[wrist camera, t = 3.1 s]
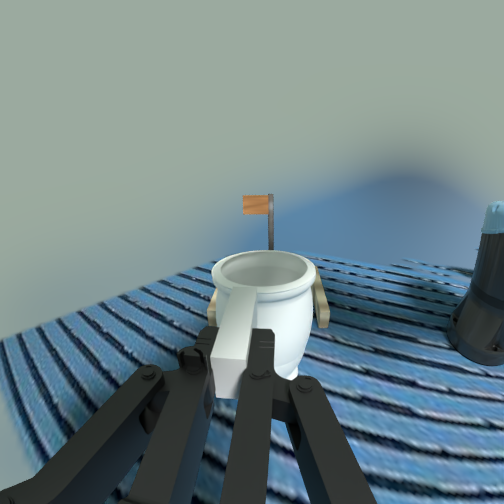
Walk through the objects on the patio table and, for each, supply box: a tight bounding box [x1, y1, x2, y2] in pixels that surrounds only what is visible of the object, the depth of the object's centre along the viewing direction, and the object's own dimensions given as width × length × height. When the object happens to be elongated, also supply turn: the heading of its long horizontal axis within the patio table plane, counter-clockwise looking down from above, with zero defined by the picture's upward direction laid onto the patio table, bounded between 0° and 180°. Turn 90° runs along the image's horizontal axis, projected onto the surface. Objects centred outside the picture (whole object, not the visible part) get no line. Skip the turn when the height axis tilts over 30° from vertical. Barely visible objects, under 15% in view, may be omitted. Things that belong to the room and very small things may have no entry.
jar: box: [212, 250, 316, 380], centre depth 31 cm, size 11×10×15 cm
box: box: [207, 194, 330, 328], centre depth 48 cm, size 18×19×18 cm
